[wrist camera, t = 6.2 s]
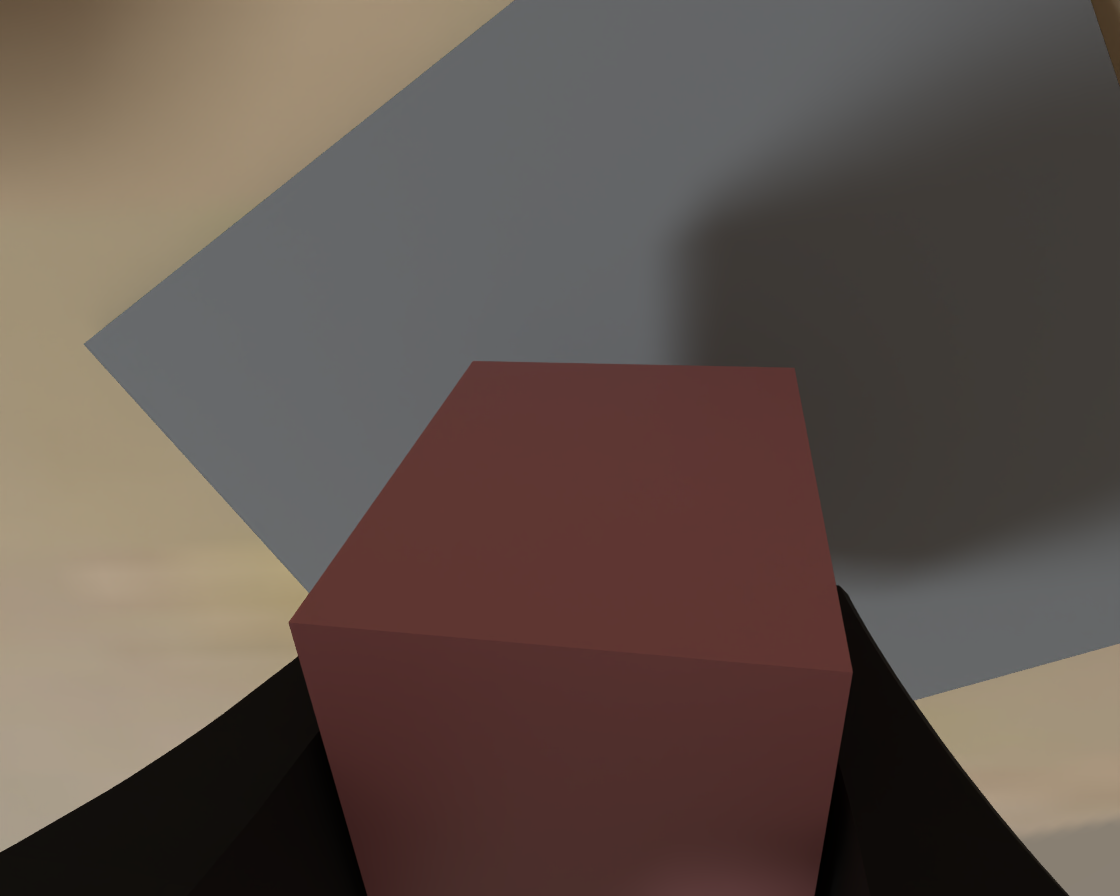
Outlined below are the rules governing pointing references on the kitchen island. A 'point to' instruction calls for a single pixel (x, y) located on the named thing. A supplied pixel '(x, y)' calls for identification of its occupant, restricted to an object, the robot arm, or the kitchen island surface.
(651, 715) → the card box
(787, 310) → the mat
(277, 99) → the kitchen island surface
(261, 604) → the kitchen island surface
